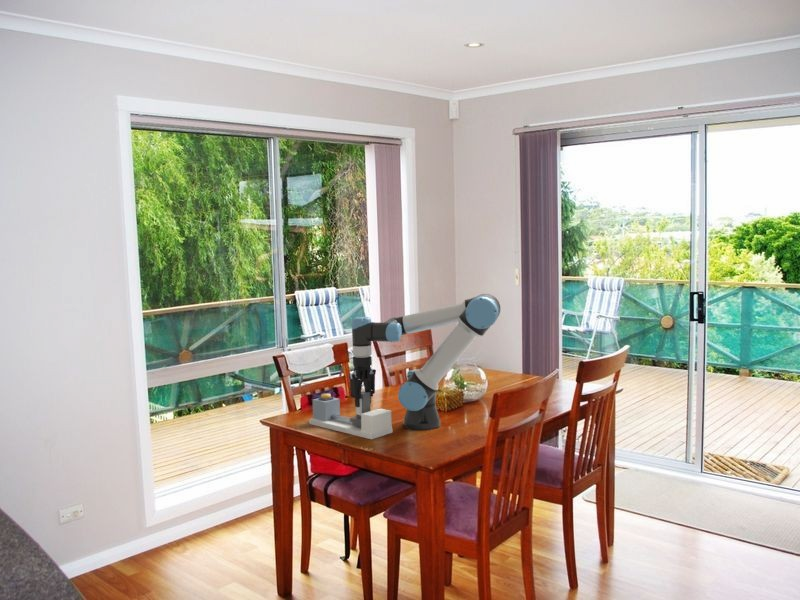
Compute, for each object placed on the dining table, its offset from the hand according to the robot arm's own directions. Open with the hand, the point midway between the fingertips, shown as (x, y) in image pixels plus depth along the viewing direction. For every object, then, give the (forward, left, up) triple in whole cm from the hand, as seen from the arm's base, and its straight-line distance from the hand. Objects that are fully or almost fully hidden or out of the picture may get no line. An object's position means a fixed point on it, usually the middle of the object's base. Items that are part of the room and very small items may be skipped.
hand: (363, 413), depth 290 cm
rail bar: (+7, 0, -5) cm, 9 cm away
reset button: (+22, 0, 0) cm, 22 cm away
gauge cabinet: (+22, 0, -5) cm, 22 cm away
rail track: (+8, 0, -7) cm, 11 cm away
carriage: (0, 0, -5) cm, 5 cm away
